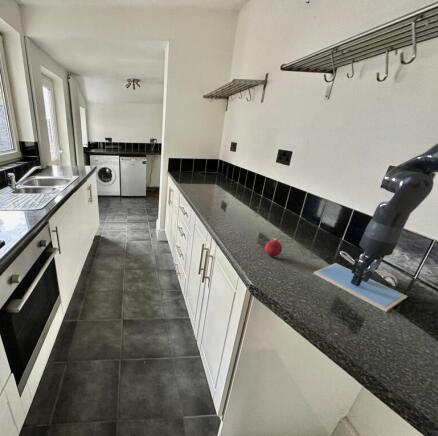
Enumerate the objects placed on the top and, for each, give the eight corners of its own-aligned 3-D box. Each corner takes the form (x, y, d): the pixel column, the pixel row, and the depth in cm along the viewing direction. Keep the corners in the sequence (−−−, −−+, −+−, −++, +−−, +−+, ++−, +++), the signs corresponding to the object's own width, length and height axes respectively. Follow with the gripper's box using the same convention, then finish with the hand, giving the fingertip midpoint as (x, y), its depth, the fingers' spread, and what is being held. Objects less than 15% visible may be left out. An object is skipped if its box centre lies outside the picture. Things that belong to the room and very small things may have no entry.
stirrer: (337, 246, 93) (347, 246, 94) (334, 254, 94) (344, 253, 95) (393, 280, 75) (404, 279, 76) (388, 288, 77) (399, 287, 77)
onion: (274, 262, 88) (279, 243, 85) (260, 255, 92) (264, 237, 89) (281, 257, 91) (287, 239, 88) (267, 251, 95) (272, 234, 92)
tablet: (334, 264, 88) (335, 262, 87) (406, 298, 71) (408, 295, 71) (313, 273, 82) (314, 271, 82) (386, 312, 65) (387, 309, 65)
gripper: (386, 246, 63) (362, 295, 70) (407, 237, 69) (383, 283, 76) (353, 235, 69) (334, 281, 76) (376, 227, 76) (356, 271, 82)
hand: (359, 282), depth 76 cm, fingers open, 5 cm apart
